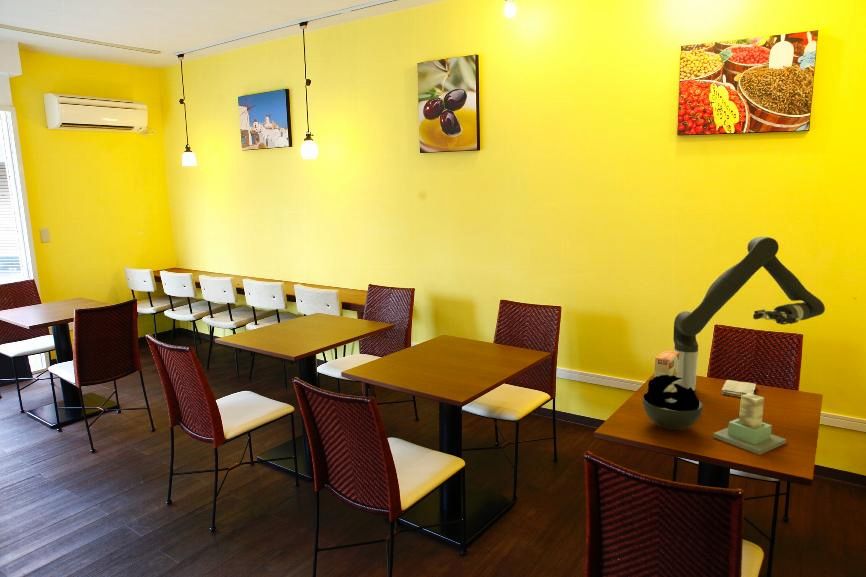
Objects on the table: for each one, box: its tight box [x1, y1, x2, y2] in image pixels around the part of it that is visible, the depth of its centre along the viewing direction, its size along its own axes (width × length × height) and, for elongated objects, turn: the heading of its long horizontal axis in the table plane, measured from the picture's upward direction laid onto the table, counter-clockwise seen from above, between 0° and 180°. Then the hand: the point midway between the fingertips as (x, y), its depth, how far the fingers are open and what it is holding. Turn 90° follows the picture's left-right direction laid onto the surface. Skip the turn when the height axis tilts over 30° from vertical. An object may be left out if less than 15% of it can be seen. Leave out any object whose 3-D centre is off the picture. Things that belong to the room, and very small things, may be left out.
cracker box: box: [653, 349, 680, 392], centre depth 225 cm, size 14×6×21 cm, turn 143°
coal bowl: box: [641, 375, 704, 431], centre depth 204 cm, size 20×20×19 cm
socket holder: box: [712, 417, 787, 456], centre depth 194 cm, size 16×16×6 cm
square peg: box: [738, 393, 765, 429], centre depth 193 cm, size 5×5×14 cm
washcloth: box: [721, 379, 757, 398], centre depth 242 cm, size 12×18×3 cm, turn 148°
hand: (765, 318), depth 216 cm, fingers open, 8 cm apart
